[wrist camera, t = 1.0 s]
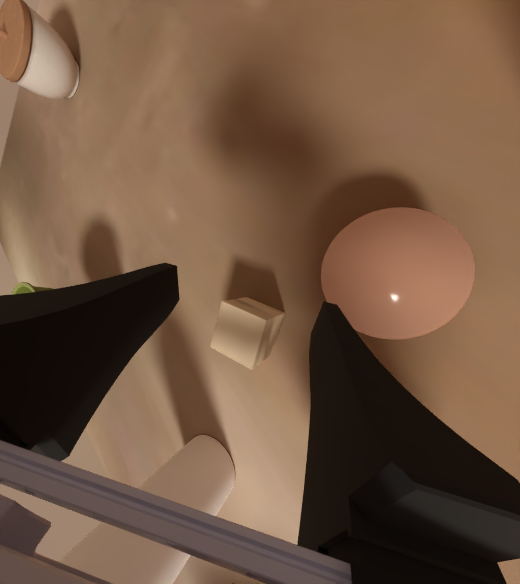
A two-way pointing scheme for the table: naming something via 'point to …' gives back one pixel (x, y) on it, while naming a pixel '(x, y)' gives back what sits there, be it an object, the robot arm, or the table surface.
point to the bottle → (170, 485)
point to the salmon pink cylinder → (398, 272)
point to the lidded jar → (35, 53)
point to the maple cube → (246, 331)
